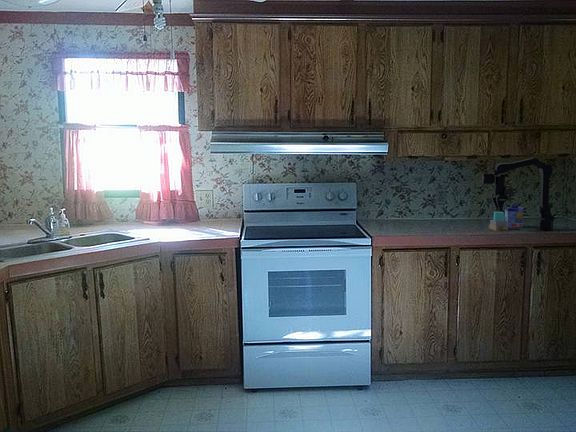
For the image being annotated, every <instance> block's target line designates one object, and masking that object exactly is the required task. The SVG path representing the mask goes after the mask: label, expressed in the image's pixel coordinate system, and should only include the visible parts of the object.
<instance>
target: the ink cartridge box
mask: <svg viewBox="0 0 576 432" xmlns="http://www.w3.org/2000/svg"><path fill="white" fill-rule="evenodd" d="M524 210H525V208H524V207H522V206H519V204H517V203H516V204H515V203H513V204H512V205H511V206H505V212H504V220H505V221H507V226H508V228H523V226H524V225H523V224H524V213H525V211H524Z"/></svg>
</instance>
